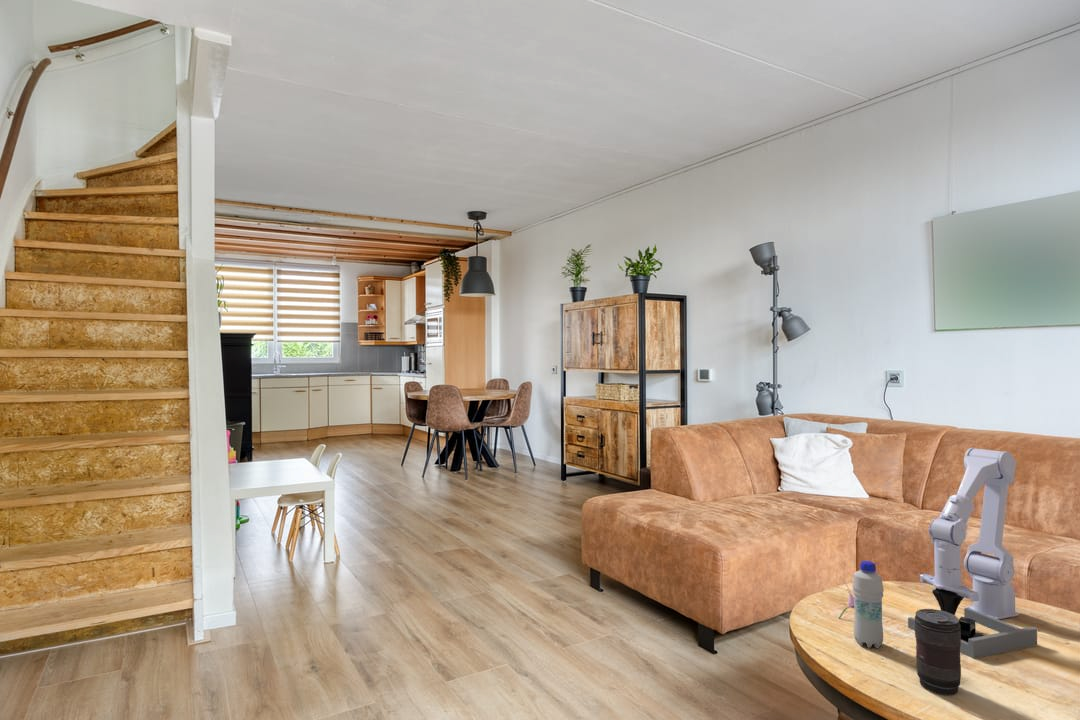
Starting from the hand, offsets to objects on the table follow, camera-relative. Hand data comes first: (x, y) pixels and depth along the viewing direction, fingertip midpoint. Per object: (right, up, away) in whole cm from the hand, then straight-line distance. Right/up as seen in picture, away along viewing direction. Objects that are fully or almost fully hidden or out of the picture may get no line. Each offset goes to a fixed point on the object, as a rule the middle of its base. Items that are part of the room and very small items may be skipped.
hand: (948, 619), depth 156 cm
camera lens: (-22, -2, -29) cm, 36 cm away
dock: (+1, -2, -5) cm, 6 cm away
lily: (-21, -2, +5) cm, 22 cm away
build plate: (+1, -3, -5) cm, 6 cm away
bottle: (-26, -2, -9) cm, 27 cm away
